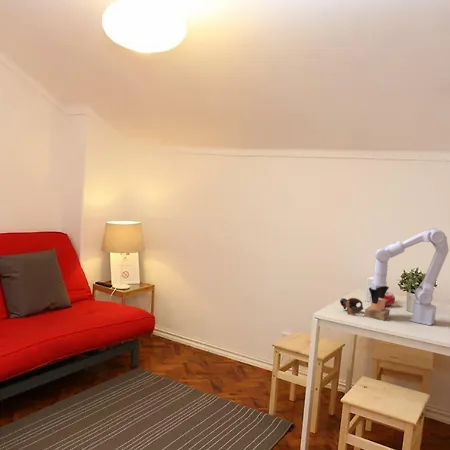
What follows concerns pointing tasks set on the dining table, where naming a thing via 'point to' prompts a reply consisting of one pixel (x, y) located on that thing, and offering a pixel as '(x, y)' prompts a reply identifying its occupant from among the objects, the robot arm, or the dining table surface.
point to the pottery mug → (351, 305)
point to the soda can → (388, 298)
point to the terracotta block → (378, 305)
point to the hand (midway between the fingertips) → (377, 302)
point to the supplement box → (369, 285)
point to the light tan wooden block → (377, 314)
